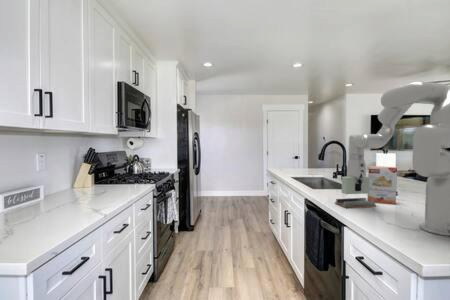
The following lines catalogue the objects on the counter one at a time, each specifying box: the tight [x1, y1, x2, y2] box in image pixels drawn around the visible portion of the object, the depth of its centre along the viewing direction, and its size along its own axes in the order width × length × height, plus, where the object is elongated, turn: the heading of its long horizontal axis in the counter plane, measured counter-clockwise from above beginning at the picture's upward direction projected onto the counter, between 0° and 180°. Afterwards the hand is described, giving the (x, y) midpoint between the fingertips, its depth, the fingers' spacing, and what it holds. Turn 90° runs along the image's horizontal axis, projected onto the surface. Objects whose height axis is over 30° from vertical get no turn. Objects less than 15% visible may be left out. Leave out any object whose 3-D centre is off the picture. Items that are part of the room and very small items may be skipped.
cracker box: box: [367, 165, 398, 205], centre depth 148 cm, size 14×6×21 cm, turn 62°
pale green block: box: [341, 176, 370, 195], centre depth 141 cm, size 4×14×9 cm, turn 100°
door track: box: [334, 197, 377, 209], centre depth 141 cm, size 10×18×3 cm, turn 100°
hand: (355, 189), depth 141 cm, fingers closed on pale green block, 4 cm apart
